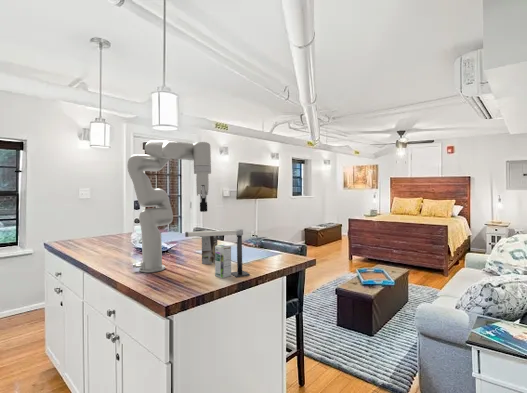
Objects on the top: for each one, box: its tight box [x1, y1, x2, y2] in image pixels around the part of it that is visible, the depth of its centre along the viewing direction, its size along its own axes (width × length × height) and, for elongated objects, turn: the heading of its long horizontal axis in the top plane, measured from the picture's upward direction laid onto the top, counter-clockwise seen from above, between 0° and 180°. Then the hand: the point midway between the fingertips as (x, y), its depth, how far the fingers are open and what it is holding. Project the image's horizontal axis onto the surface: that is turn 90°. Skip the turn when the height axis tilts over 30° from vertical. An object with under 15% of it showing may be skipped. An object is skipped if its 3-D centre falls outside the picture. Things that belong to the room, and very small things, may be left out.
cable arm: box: [184, 229, 244, 238], centre depth 149 cm, size 27×4×2 cm, turn 100°
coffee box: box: [201, 236, 218, 265], centre depth 178 cm, size 9×6×16 cm
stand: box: [231, 235, 250, 278], centre depth 151 cm, size 7×7×19 cm
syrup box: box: [214, 244, 232, 279], centre depth 150 cm, size 6×6×14 cm
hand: (203, 211), depth 141 cm, fingers closed
